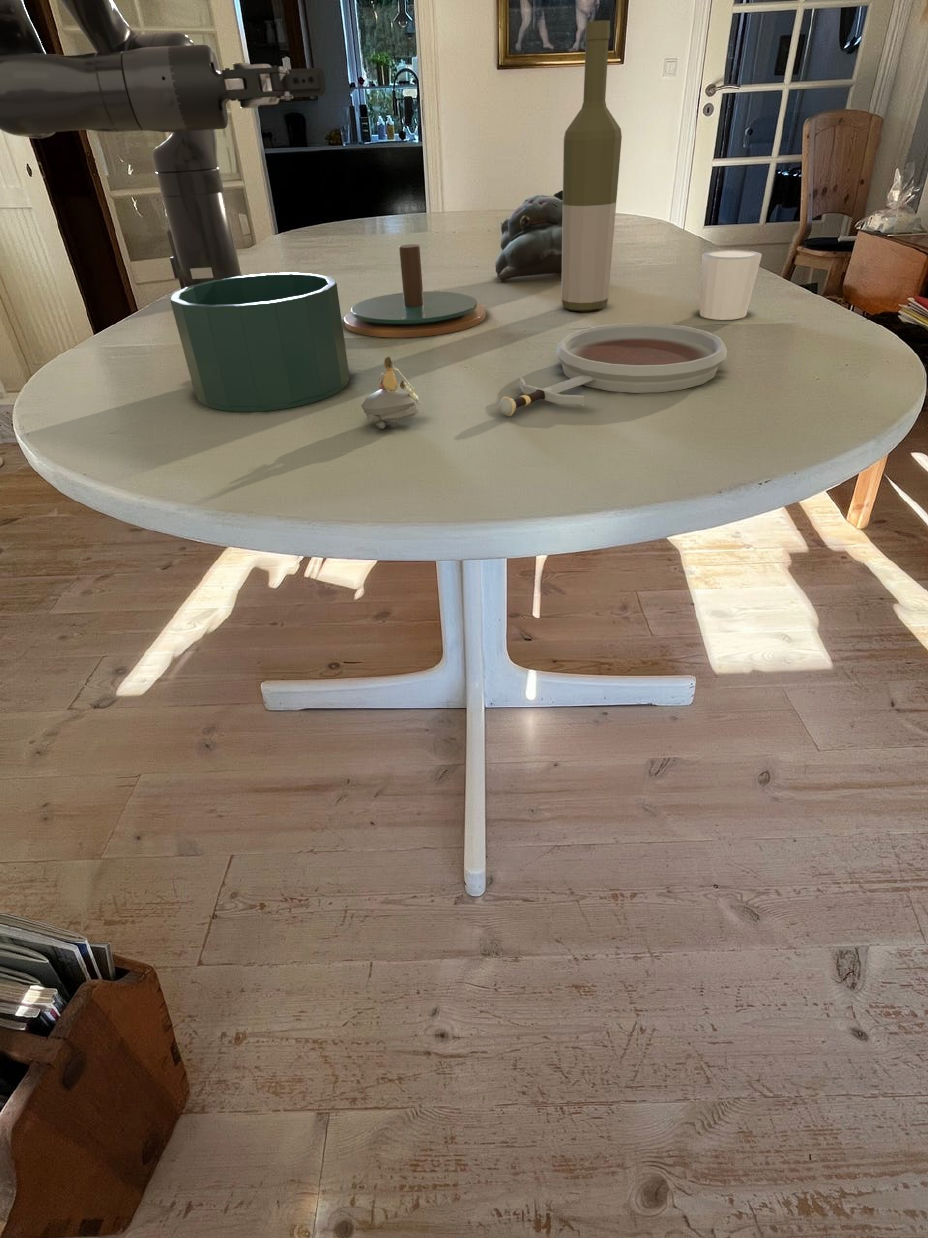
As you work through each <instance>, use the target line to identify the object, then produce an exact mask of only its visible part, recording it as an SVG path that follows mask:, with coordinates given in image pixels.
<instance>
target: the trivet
mask: <svg viewBox="0 0 928 1238" xmlns="http://www.w3.org/2000/svg"><path fill="white" fill-rule="evenodd" d="M486 313H487V312H486V308H485V306H483V305H482V304H481V303H478V302H477V307H476V308H475V309H474V310H473V311H471V312H470V313H467V314H465V315H462V316H459V317H455V318H451V319H448V320H444V321H439V322H434V323H426V324H416V325H390V324H382V323H374V322H367V321H363V320H359V319H357V318H355V317H354V316H353V315H352V313H351V311H350V312H348V313H347V314H346V315H345V316H344V318H343V321H344V327H345V328H346V329H347V330H348V331H350V332H352V333H354V334H357V335H358V334H359V335H361V336H362V335H363V336H369V337H376V338H391V339H392V338H395V339H396V338H400V339H401V338H421V337H431V336H438V335H439V336H440V335H445V334H451V333H455V332H459V331H460V332H461V331H463V330H466V329H470V328H473V327H474V326H477V325H479V324H481V323H483V321H484V320H485V319H486V316H487V314H486Z"/></svg>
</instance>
